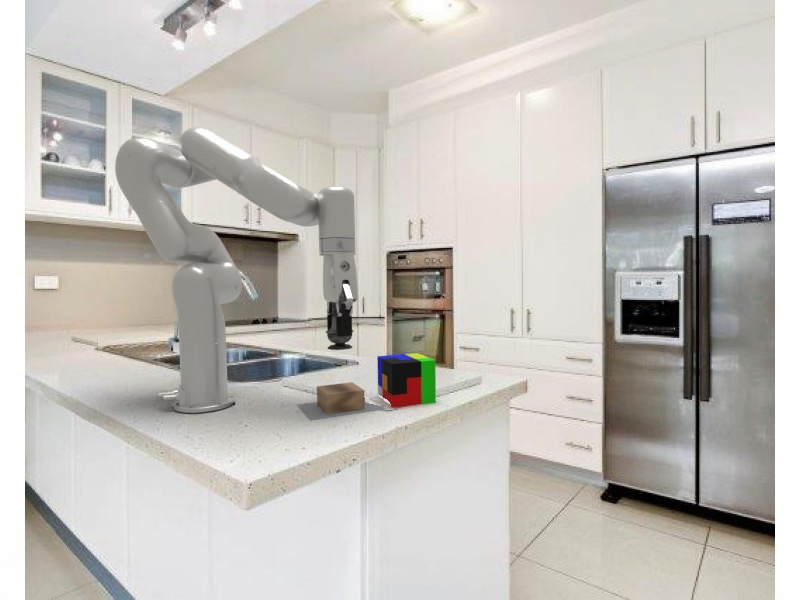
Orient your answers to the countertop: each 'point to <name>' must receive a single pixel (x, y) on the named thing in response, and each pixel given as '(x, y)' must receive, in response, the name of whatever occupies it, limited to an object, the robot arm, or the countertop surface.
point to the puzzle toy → (407, 379)
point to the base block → (340, 398)
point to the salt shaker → (332, 333)
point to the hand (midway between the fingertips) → (339, 333)
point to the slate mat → (317, 413)
